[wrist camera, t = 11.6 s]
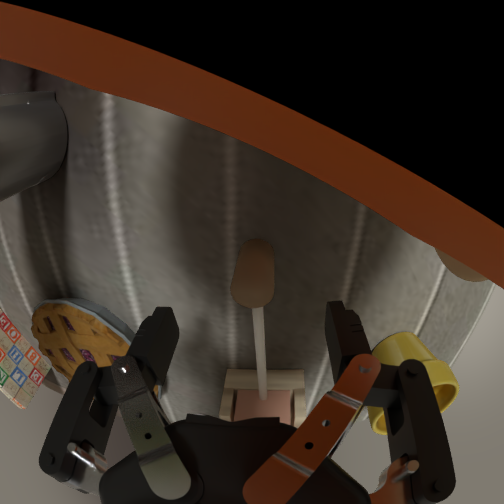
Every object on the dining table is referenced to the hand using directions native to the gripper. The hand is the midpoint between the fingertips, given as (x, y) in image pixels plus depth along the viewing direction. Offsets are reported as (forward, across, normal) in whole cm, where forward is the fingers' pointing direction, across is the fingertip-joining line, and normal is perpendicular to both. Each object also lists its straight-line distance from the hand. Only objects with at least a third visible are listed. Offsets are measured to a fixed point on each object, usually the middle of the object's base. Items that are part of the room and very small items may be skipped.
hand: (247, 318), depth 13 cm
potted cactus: (+11, -7, -17) cm, 21 cm away
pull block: (+8, 0, +12) cm, 15 cm away
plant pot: (+10, -16, +16) cm, 25 cm away
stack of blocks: (+12, +51, +18) cm, 55 cm away
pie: (+11, +24, +16) cm, 32 cm away
